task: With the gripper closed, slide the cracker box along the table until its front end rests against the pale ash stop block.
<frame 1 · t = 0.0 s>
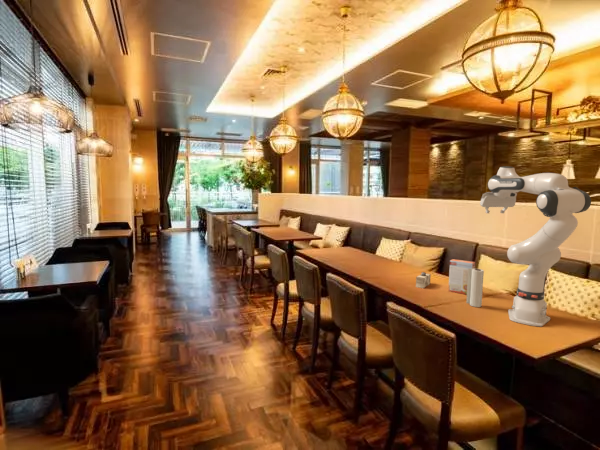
hand: (494, 213, 215), 52 cm above the table, tool tilted 20°, fingers open, 8 cm apart
paper towel roll: (474, 305, 200), on the table
cracker box: (460, 292, 224), on the table
stop block: (423, 285, 239), on the table
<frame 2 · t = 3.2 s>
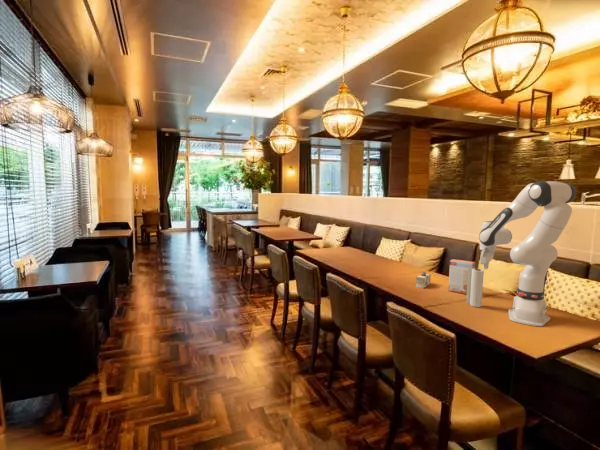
hand: (485, 268, 214), 18 cm above the table, tool pointing down, fingers closed
nothing on the table moved.
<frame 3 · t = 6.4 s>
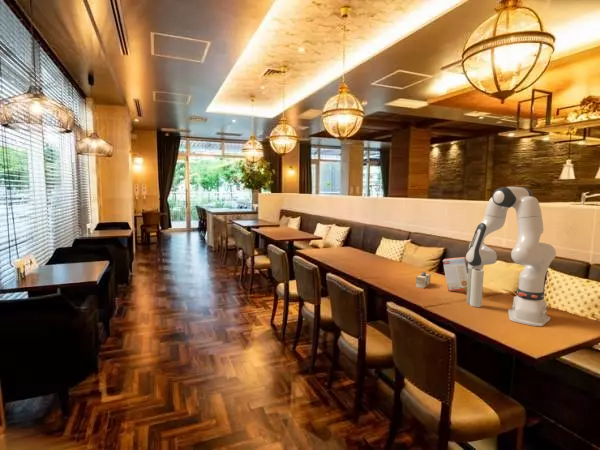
hand: (473, 287, 220), 5 cm above the table, tool pointing down, fingers closed, pressing on cracker box
cracker box: (460, 290, 224), point 1 cm above the table, touching arm, gripper
everything else where it was.
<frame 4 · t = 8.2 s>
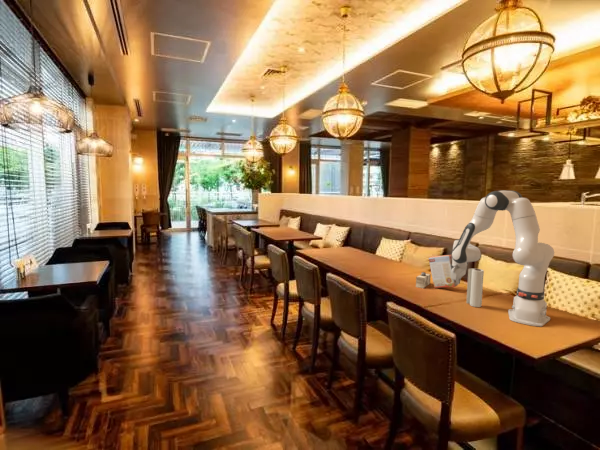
hand: (457, 284, 226), 5 cm above the table, tool pointing down, fingers closed, pressing on cracker box
cracker box: (446, 287, 231), point 1 cm above the table, touching arm, gripper
everything else where it was.
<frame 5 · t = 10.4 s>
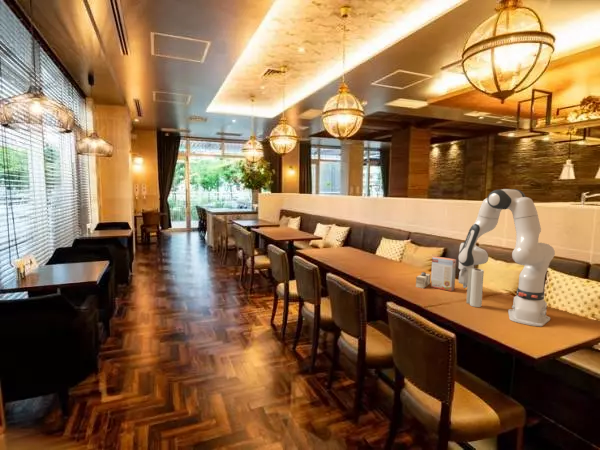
hand: (465, 287, 222), 4 cm above the table, tool pointing down, fingers closed
cracker box: (442, 288, 232), on the table
everything else where it was.
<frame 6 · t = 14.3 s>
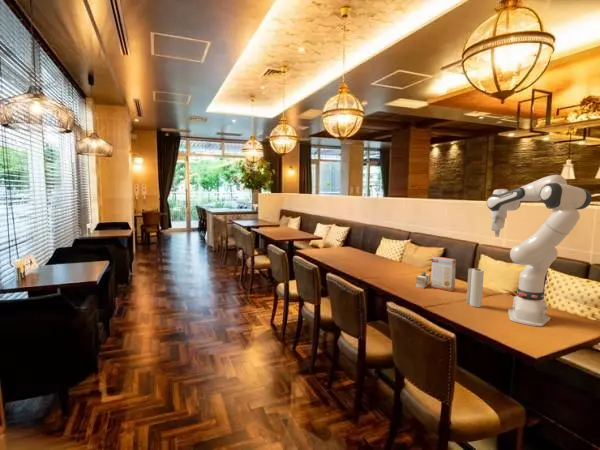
hand: (497, 236, 217), 37 cm above the table, tool pointing down, fingers closed
nothing on the table moved.
at the end: cracker box 2.0 cm from the target spot on the table beside the stop block, on the table; cracker box tilted 0°; cracker box moved 11.8 cm from its start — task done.
